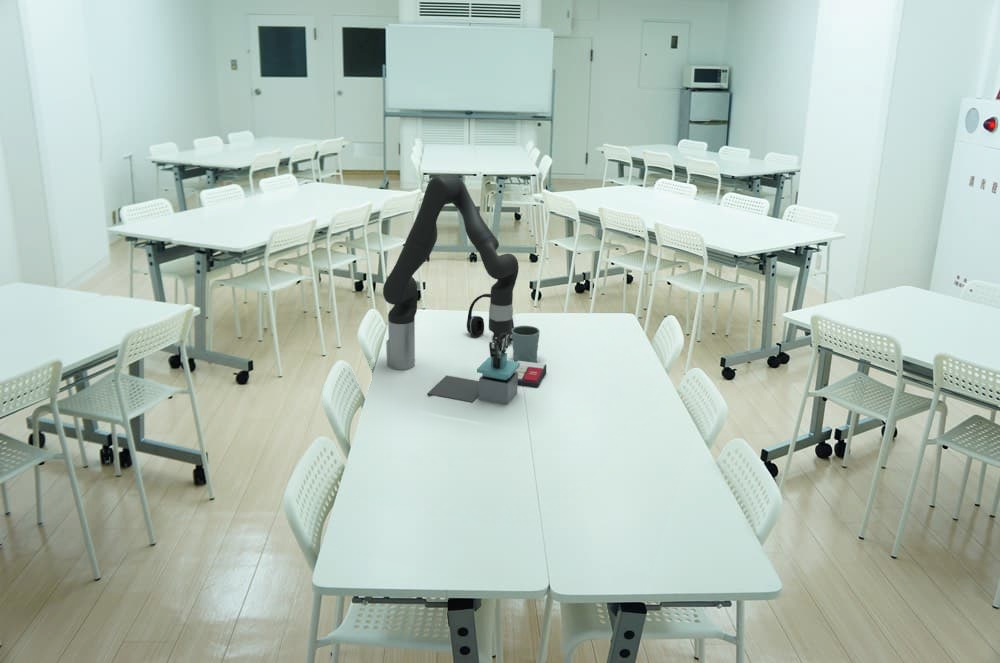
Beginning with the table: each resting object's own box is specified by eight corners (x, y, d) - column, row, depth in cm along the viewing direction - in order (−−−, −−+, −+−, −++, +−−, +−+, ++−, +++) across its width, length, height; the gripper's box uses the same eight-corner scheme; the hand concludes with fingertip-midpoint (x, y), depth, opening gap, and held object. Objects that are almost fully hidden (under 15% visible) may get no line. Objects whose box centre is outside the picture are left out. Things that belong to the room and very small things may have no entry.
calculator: (506, 376, 289) (516, 358, 302) (506, 388, 290) (516, 369, 304) (538, 381, 286) (546, 362, 300) (537, 392, 288) (546, 373, 301)
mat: (427, 396, 280) (427, 393, 280) (446, 378, 294) (446, 375, 294) (472, 404, 275) (472, 401, 275) (489, 385, 289) (489, 383, 289)
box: (478, 401, 278) (479, 378, 275) (489, 389, 286) (489, 367, 284) (507, 406, 274) (508, 384, 272) (517, 394, 283) (518, 372, 280)
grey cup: (543, 362, 310) (545, 332, 306) (521, 368, 305) (522, 337, 300) (527, 353, 318) (528, 323, 313) (505, 358, 312) (506, 328, 308)
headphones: (463, 336, 332) (464, 292, 326) (474, 331, 338) (474, 287, 331) (506, 347, 322) (508, 302, 316) (516, 342, 328) (518, 297, 321)
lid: (476, 376, 274) (477, 357, 272) (488, 364, 284) (489, 346, 282) (508, 382, 271) (509, 363, 268) (519, 370, 281) (520, 351, 278)
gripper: (497, 307, 278) (495, 355, 284) (481, 321, 265) (480, 371, 271) (519, 310, 275) (516, 359, 281) (504, 324, 263) (502, 375, 269)
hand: (498, 365), depth 276 cm, fingers closed on lid, 4 cm apart
